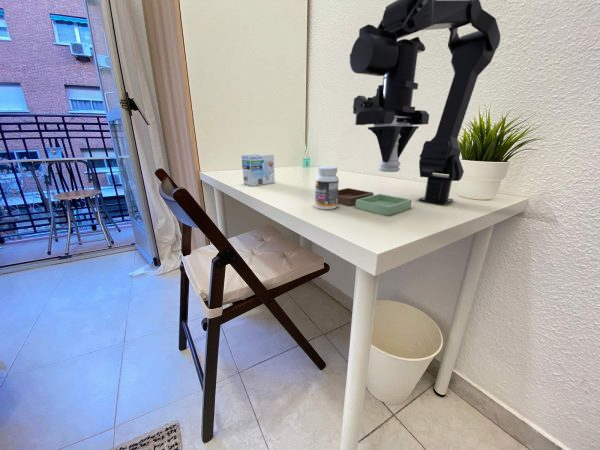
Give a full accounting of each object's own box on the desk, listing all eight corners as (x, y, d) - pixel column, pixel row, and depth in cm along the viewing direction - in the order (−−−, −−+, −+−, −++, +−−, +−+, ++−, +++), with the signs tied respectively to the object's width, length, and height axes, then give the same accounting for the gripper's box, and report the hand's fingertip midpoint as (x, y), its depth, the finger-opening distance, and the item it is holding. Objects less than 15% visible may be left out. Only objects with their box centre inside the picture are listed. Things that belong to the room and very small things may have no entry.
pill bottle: (310, 206, 63) (310, 167, 59) (326, 202, 66) (327, 165, 63) (326, 211, 58) (327, 169, 55) (342, 206, 62) (344, 167, 59)
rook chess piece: (382, 169, 56) (386, 131, 53) (402, 170, 54) (407, 131, 51) (375, 171, 53) (378, 132, 50) (395, 172, 50) (400, 131, 48)
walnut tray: (347, 194, 75) (347, 187, 75) (373, 199, 69) (373, 192, 68) (324, 199, 69) (324, 192, 69) (349, 206, 63) (350, 198, 62)
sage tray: (378, 200, 67) (379, 193, 67) (410, 207, 61) (412, 199, 60) (355, 207, 61) (355, 199, 61) (388, 215, 55) (389, 207, 54)
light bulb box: (252, 186, 89) (250, 155, 86) (242, 184, 94) (240, 155, 90) (275, 182, 96) (274, 154, 92) (265, 180, 101) (264, 153, 97)
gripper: (386, 89, 59) (380, 156, 64) (334, 80, 47) (333, 162, 53) (435, 81, 51) (424, 158, 56) (386, 68, 39) (378, 166, 45)
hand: (390, 161), depth 53 cm, fingers closed on rook chess piece, 3 cm apart
